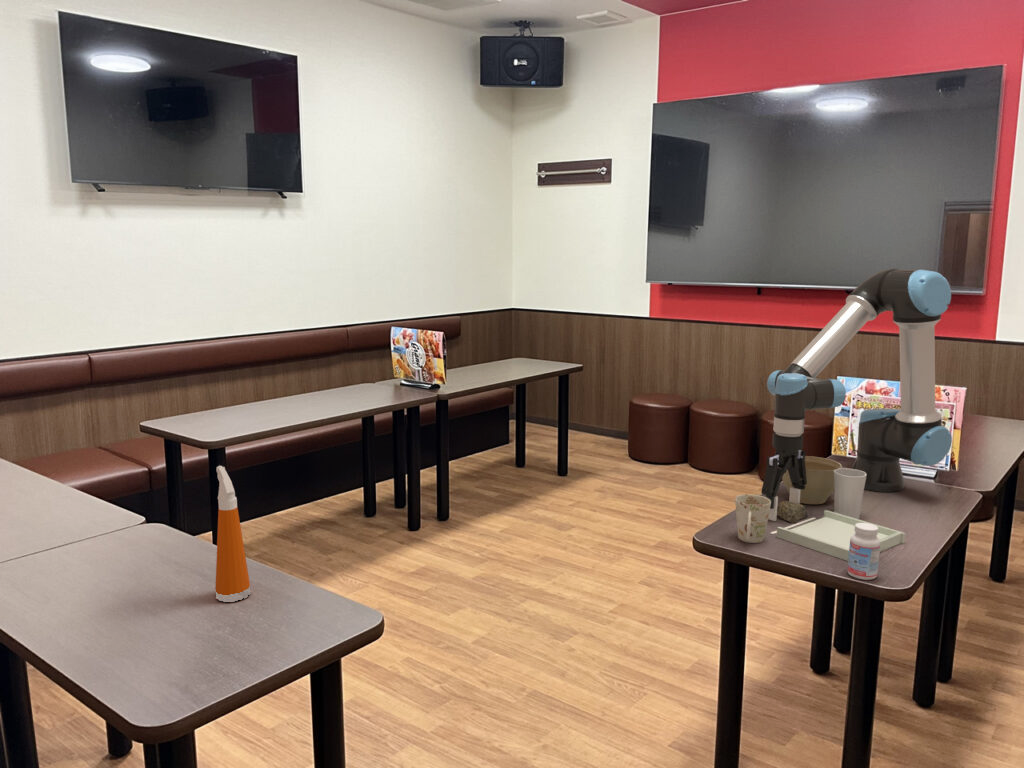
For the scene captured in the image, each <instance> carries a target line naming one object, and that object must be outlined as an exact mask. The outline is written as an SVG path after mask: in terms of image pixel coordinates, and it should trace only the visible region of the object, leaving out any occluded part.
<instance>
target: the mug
mask: <svg viewBox="0 0 1024 768" xmlns="http://www.w3.org/2000/svg"><path fill="white" fill-rule="evenodd" d="M734 504H735V516H736V517H735V518H736V526H737V527H736V528H737V538H738V539H739V540H740V541H742V542H745V543H751V544H759V543H762V542H763V541H764V540H765V536H766V530H767V526H768V522H769V521H768V520H769V519H768V516H769V511H770V506H771V500H770V499H768V498H767V496H763V495H759V494H758V495H757V494H750V493H749V494H747V493H746V494H739V495H736V497H735V501H734Z"/></svg>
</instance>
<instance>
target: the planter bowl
mask: <svg viewBox="0 0 1024 768" xmlns="http://www.w3.org/2000/svg"><path fill="white" fill-rule="evenodd" d="M805 467H806V479H807V484H806V485H803V486H805V489H804V490H803V489H801V494H800V504H806V505H823V504H824V503H826V502H827V500H828V497H829V496H830V495H831V494H832V493H834V470H835V469H840V468H843V466H842V464H841V463H840V462H839V461H836V460H833V459H829V458H825V457H819V456H813V455H812V456H810V455H809V456H808V455H805ZM801 480H802V479H801ZM782 481H783V484H784V486H785V488H786V490H787V491H788V494H790V488H791V487H793V486H792V483H791V479H790V476H789V472H788V469H787V471H786V473H784V474H783V477H782ZM793 488H794V487H793Z"/></svg>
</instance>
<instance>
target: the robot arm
mask: <svg viewBox="0 0 1024 768" xmlns="http://www.w3.org/2000/svg"><path fill="white" fill-rule="evenodd" d="M951 301H952V289H951V285H950V283H949V281H948V279H947V278H946V277H944V276H943V275H942V274H941V273H940V272H937V271H933V270H932V271H931V270H927V269H902V268H900V269H898V268H887V269H884V270H880V271H878V272H877V273H874V274H873V275H871V276H870V277H868V278H866V279H865V280H864V281H863V282H862V283H860V284H859V285H858V286H856V287H855V289H853V291H851V293H849V295H848V296H847V297H846V298H845V305H844V306H842V308H841V309H839V311H838V312H837V313H836V314H835V315H834V316H833V317H832V319H830V320H829V322H827V324H826V325H825V326H824V327H823V328H822V329H821V331H819V332H818V333H817V335H816V336H815V337H813V339H812V340H811V341H810V342H809V343H808V344H807V346H806V347H805V348H804V349H803V350H801V352H800V353H799V354H798V355H797V356H796V357H795V358H794V359H793V361H792V362H790V364H789V365H788V366H787V367H786V368H785V370H783V369H781V370H780V369H779V370H775V371H773V372H771V373H770V375H769V376H768V378H767V380H766V381H767V382H766V386H767V389H768V392H769V393H770V394H771V395H772V396H774V414H773V429H772V430H773V434H772V441H771V442H772V443H771V445H772V447H773V448H774V449H775V453H774V456H767V458H766V469H765V473H764V477H763V481H762V486H761V491H760V492H761V494H762V495H765V497H766V498H768V499H770V500H771V506H770V511H769V516H768V520H769V521H773V522H776V521H777V520H778V519H777V517H778V516H777V507H778V505H779V496H777V494H778V491H779V488H780V484H781V483H782V481H783V479H782V477H783V474H784V473H786V471H787V469H788V472H789V476H790V479H791V483H792V486H793V487H794V488H793V487H791V488H790V493H789V495H788V496H789V497H788V498H789V500H788V501H789V502H792V503H797V504H800V505H801V503H800V494H801V489H803V490H804V489H805V486H803V485H806V484H807V479H806V467H805V456H806V454H807V453H806V451H805V450H803V444H804V435H803V434H804V430H805V417H806V416H805V415H806V411H808V410H821V409H822V410H823V409H833V408H839V407H840V406H842V405H843V403H845V401H846V398H847V396H846V395H847V393H846V392H847V390H846V388H845V387H846V386H845V385H844V383H843V382H842V381H841V380H838V379H836V378H835V379H833V378H832V379H831V378H826V379H822V378H821V379H820V378H817V377H818V376H819V375H820V373H821V372H822V371H823V370H824V369H825V368H826V367H827V366H828V365H829V364H830V363H831V361H833V359H834V358H835V357H836V356H837V355H838V354H839V353H840V352H841V351H842V349H843V348H844V347H845V346H846V345H847V344H848V343H849V342H850V341H851V340H852V339H853V337H854V336H856V334H857V333H858V332H859V331H860V330H861V329H862V328H863V327H864V326H865V325H866V323H867V322H869V321H870V322H871V321H874V320H875V319H876V318H877V317H878V316H879V315H880V314H883V313H885V312H892V322H893V323H894V324H895V325H897V326H898V328H899V329H898V330H899V331H898V332H899V333H898V334H899V335H898V336H899V337H898V338H899V376H900V377H899V379H900V383H899V384H900V409H899V408H870V409H869V408H867V409H865V410H863V411H861V413H860V416H859V417H860V418H859V422H858V435H857V452H856V458H855V461H854V463H853V465H852V467H851V469H856V470H860V471H863V472H865V473H866V474H867V475H866V481H865V486H864V490H867V491H872V492H882V493H883V492H885V493H891V492H900V491H903V489H904V487H905V478H904V475H903V474H904V473H903V470H902V466H901V463H900V459H901V460H904V461H907V462H911V463H913V464H916V465H920V466H921V465H922V466H927V467H931V466H935V465H938V464H939V463H941V462H942V461H943V460H944V459H945V457H946V456H947V455H948V454H949V452H950V450H951V447H952V442H953V436H952V433H951V431H949V429H948V428H947V427H945V426H943V423H942V422H943V419H942V415H941V413H939V412H938V411H937V410H936V359H935V357H936V355H935V354H936V348H935V345H936V343H935V336H936V335H935V333H936V332H935V328H936V327H935V326H936V325H937V324H938V323H939V322H940V321H941V318H942V315H943V314H944V313H945V312H946V311H947V310H948V308H949V305H950V304H951ZM801 479H802V480H801Z"/></svg>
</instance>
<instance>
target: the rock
mask: <svg viewBox="0 0 1024 768" xmlns="http://www.w3.org/2000/svg"><path fill="white" fill-rule="evenodd" d="M808 513H809V512H808V510H807V508H806V507H805V506H804V505H803V504H801V503H800V504H797V503H792V502H789V500H783V501H781V502H778V505H777V517H780V519H782V520H785V521H786V522H789V523H790V524H793V525H794V524H796V523H797V522H798V521H802V520H805V518H807V517H808Z"/></svg>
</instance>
